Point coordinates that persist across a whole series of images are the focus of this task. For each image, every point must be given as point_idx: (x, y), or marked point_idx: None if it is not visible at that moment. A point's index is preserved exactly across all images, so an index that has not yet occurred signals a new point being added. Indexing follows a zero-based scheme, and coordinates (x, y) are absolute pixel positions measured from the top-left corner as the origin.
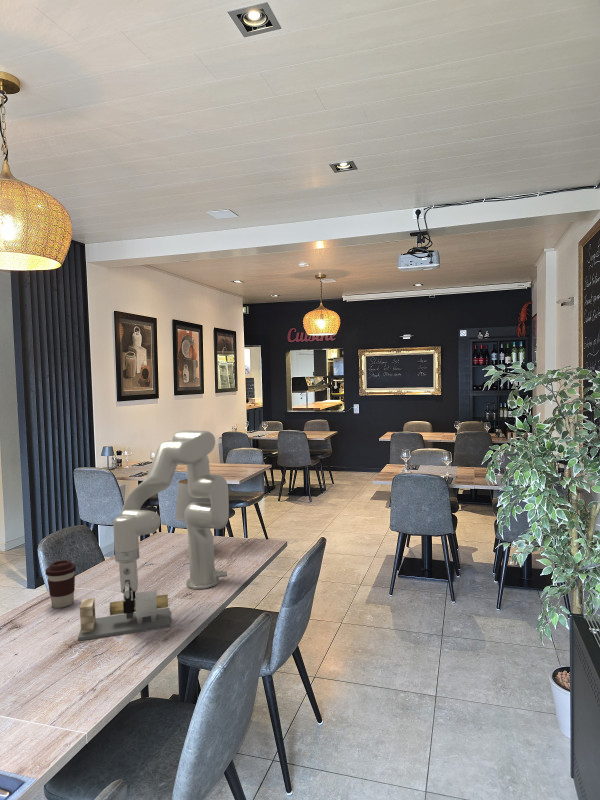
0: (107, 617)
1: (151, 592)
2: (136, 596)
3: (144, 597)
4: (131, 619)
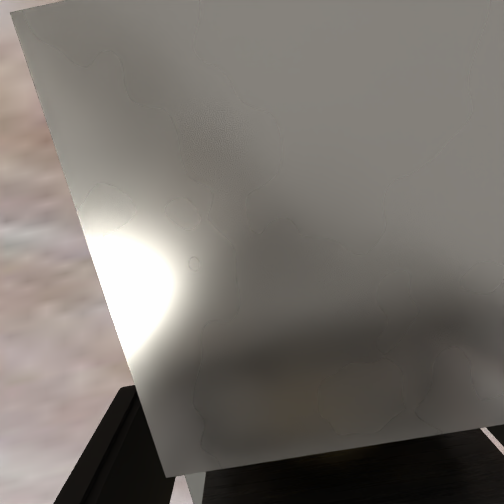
0: (201, 477)
1: (180, 132)
2: (365, 428)
3: (485, 250)
4: None
